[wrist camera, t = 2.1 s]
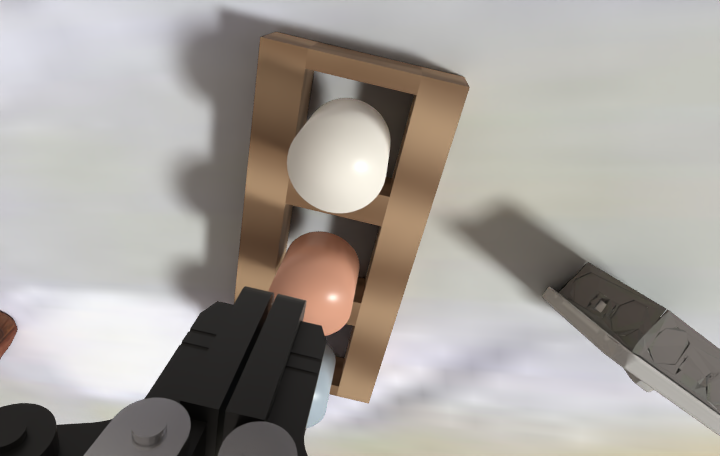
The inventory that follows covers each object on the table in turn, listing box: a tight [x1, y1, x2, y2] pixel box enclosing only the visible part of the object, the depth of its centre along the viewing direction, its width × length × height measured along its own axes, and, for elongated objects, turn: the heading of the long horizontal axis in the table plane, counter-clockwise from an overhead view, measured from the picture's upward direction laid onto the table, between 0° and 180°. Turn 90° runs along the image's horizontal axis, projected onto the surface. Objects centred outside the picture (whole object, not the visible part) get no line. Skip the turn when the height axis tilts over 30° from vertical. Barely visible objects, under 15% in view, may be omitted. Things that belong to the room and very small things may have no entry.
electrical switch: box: [542, 263, 720, 436], centre depth 28 cm, size 9×5×9 cm, turn 54°
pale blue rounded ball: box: [306, 343, 336, 428], centre depth 31 cm, size 5×5×5 cm
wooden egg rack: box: [234, 32, 469, 403], centre depth 31 cm, size 24×11×3 cm, turn 168°
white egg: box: [287, 98, 391, 213], centre depth 23 cm, size 5×5×5 cm
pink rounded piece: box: [268, 231, 359, 336], centre depth 27 cm, size 5×5×5 cm
